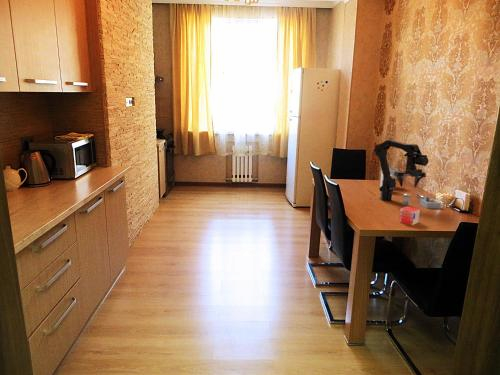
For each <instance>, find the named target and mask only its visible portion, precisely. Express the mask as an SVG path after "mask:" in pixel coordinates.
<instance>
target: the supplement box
mask: <svg viewBox="0 0 500 375" xmlns="http://www.w3.org/2000/svg"><path fill="white" fill-rule="evenodd" d="M391 177H392V175H391ZM383 179H384V177H383V174H381V173H380V182H379V183H380V184H379V188H380V187H381V186H382V185H383Z"/></svg>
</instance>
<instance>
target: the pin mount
mask: <svg viewBox="0 0 500 375" xmlns="http://www.w3.org/2000/svg"><path fill="white" fill-rule="evenodd" d="M422 196H424V197H426V198H427V201H428V199H431V197H430V196H427V195H422ZM422 196H419V198H417V199H418V200H417V202H419V203H420V199H424V197H422Z"/></svg>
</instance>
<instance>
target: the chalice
mask: <svg viewBox="0 0 500 375" xmlns="http://www.w3.org/2000/svg"><path fill="white" fill-rule="evenodd" d="M389 170H390V174H391V175H392V178H395V179H398V178H397V177H396V176H394V172H395V171H399V169H398V168H395V167H389ZM381 174H383V173H382V169H381V170H380V175H381Z"/></svg>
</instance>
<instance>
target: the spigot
mask: <svg viewBox="0 0 500 375" xmlns="http://www.w3.org/2000/svg"><path fill="white" fill-rule="evenodd" d="M411 195H412V194H411V193H402V196H403V197H402V205H401V206H403V207H406V206H408V207H410V199H411Z"/></svg>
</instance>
